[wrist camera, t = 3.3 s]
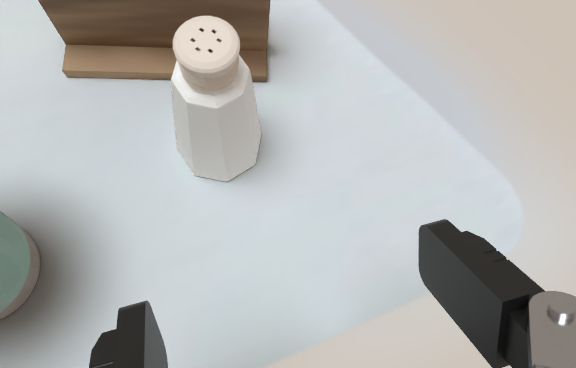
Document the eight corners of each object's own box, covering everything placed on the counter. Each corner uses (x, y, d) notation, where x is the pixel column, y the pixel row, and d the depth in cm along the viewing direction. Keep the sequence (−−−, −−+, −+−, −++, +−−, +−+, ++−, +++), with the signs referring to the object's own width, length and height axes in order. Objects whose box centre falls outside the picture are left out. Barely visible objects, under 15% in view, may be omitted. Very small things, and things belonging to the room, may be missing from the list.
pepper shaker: (230, 199, 28) (221, 123, 18) (159, 152, 29) (111, 52, 19) (278, 133, 30) (295, 28, 20) (210, 90, 31) (192, -34, 20)
